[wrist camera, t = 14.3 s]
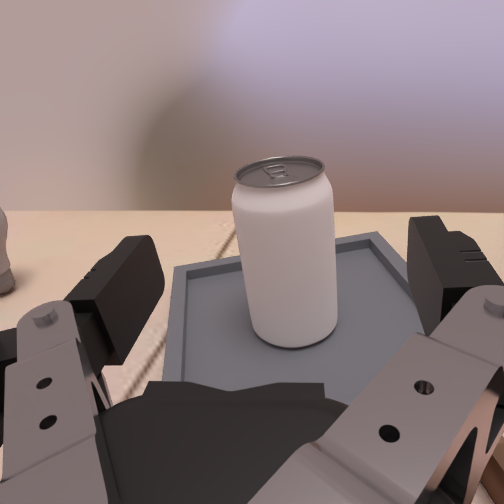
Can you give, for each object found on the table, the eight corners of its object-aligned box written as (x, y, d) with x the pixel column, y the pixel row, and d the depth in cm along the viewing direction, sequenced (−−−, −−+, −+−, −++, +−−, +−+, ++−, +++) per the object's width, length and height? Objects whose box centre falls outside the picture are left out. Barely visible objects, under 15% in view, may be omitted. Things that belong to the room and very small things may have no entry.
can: (258, 359, 28) (231, 195, 22) (247, 305, 33) (223, 163, 27) (350, 341, 28) (347, 175, 22) (323, 290, 34) (315, 148, 28)
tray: (376, 250, 40) (377, 231, 39) (514, 413, 23) (521, 386, 22) (179, 285, 40) (174, 266, 38) (164, 482, 22) (154, 457, 21)
